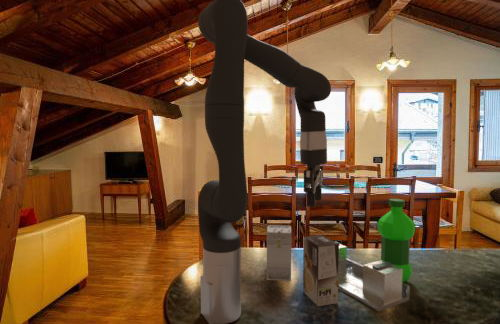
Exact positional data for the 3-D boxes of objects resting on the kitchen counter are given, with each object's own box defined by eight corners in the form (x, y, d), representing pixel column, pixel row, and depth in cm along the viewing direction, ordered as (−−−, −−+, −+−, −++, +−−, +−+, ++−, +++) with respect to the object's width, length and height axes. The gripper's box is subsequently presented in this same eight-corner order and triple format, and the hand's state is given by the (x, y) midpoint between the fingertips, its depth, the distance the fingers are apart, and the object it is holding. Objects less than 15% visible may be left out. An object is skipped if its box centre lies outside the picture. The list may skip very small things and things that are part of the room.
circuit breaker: (290, 263, 114) (290, 220, 113) (291, 280, 100) (291, 233, 98) (268, 262, 114) (268, 220, 113) (266, 279, 100) (266, 232, 99)
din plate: (378, 311, 82) (379, 274, 81) (307, 271, 107) (308, 242, 106) (409, 300, 88) (410, 265, 87) (335, 264, 112) (335, 237, 112)
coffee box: (339, 303, 86) (340, 244, 85) (317, 307, 84) (318, 246, 83) (321, 288, 95) (322, 234, 94) (301, 291, 93) (302, 236, 92)
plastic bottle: (414, 278, 101) (417, 199, 100) (409, 291, 93) (412, 205, 91) (380, 270, 107) (383, 195, 105) (372, 282, 98) (375, 201, 96)
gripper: (306, 146, 101) (307, 197, 103) (293, 149, 88) (295, 207, 90) (331, 146, 98) (331, 199, 100) (321, 148, 85) (322, 209, 87)
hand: (314, 203), depth 95 cm, fingers open, 8 cm apart
